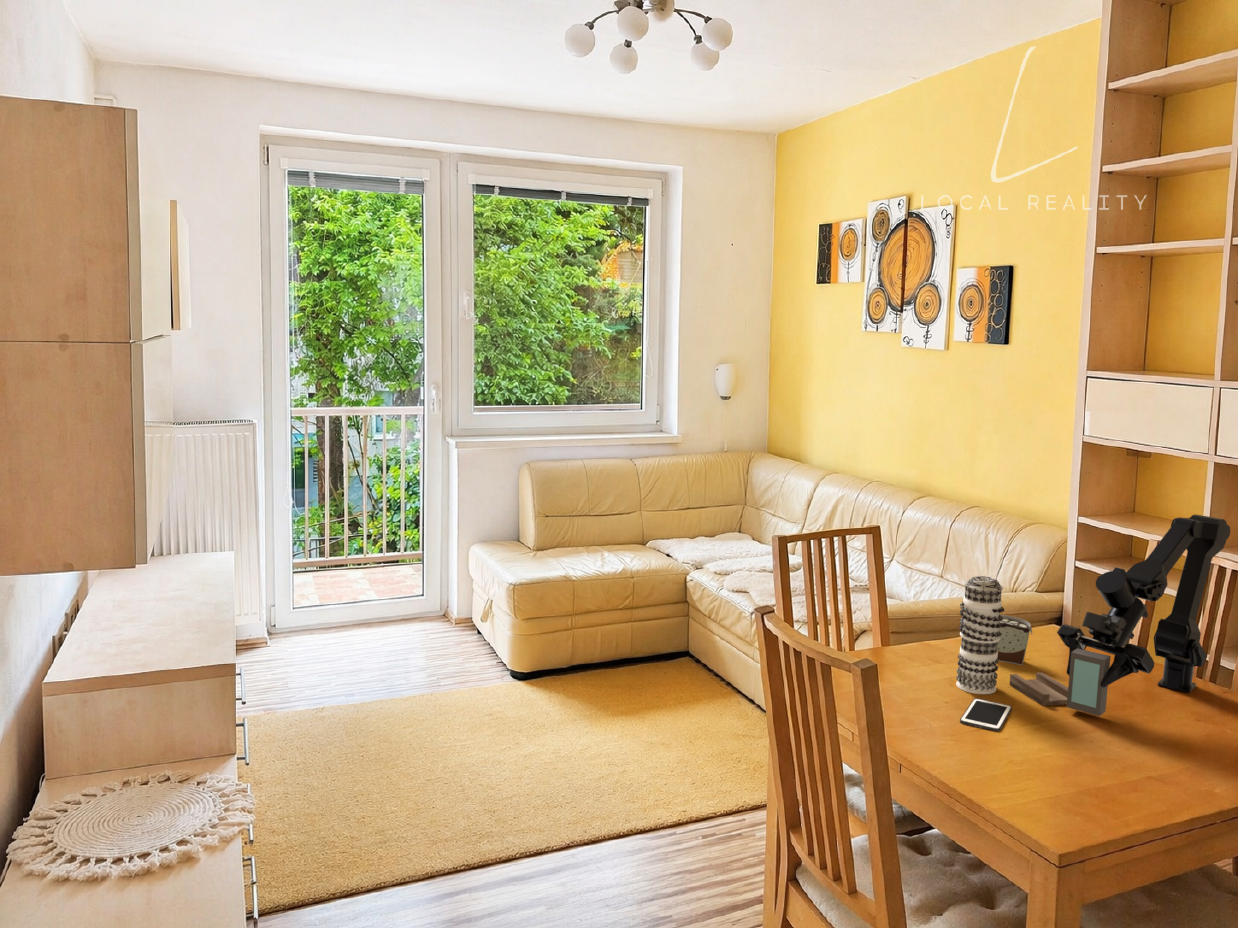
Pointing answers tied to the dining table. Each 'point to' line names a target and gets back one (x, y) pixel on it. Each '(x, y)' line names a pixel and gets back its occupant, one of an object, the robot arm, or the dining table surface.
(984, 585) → the decorative candle
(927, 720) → the dining table surface
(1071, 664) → the grey rectangular box
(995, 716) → the cell phone
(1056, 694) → the tray
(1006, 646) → the food container
